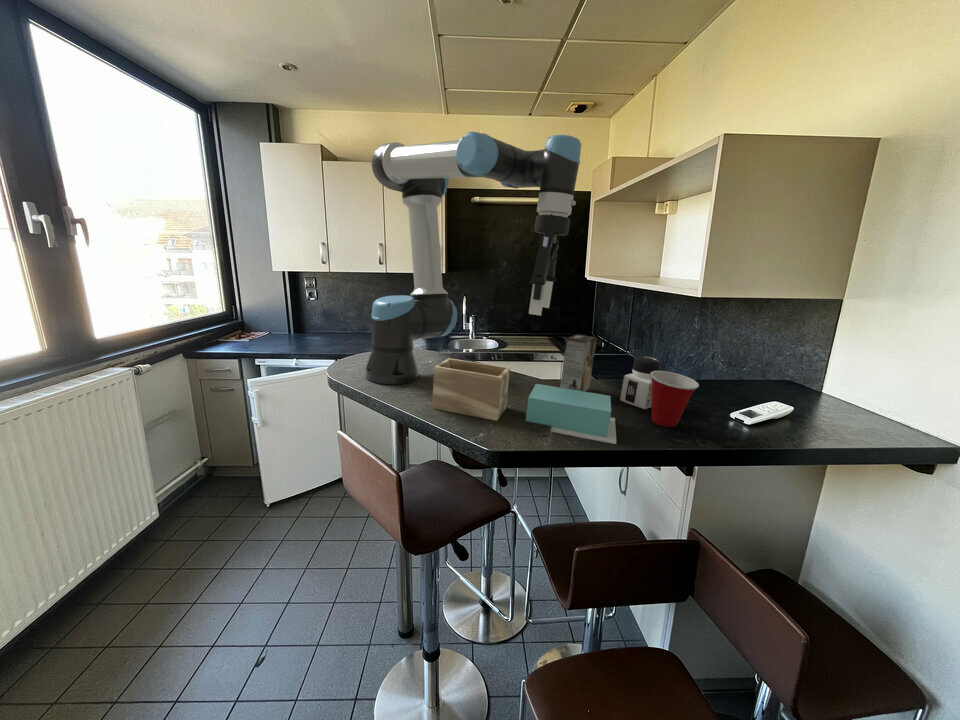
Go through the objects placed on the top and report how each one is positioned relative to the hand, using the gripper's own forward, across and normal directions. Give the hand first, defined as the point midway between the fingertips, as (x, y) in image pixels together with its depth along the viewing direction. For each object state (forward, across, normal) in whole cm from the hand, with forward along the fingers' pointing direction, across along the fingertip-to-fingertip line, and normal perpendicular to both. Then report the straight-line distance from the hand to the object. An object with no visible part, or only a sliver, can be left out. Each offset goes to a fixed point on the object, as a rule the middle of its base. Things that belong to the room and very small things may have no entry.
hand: (539, 310), depth 93 cm
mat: (+25, -4, -11) cm, 27 cm away
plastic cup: (+24, +7, -34) cm, 42 cm away
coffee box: (+25, +22, -11) cm, 35 cm away
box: (+25, -8, +12) cm, 29 cm away
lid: (+24, -4, -11) cm, 27 cm away
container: (+25, +20, -29) cm, 43 cm away
